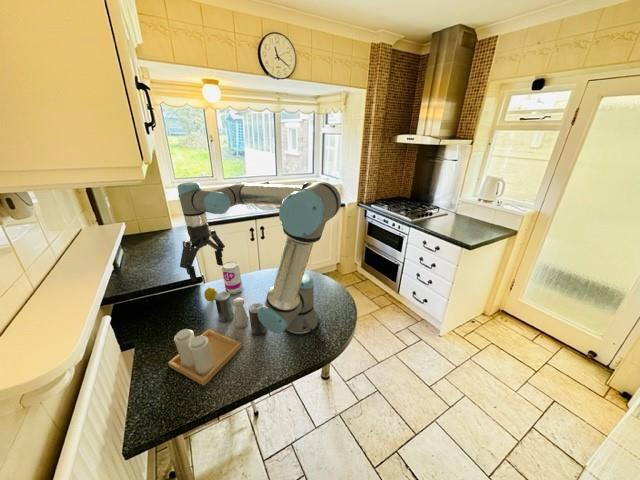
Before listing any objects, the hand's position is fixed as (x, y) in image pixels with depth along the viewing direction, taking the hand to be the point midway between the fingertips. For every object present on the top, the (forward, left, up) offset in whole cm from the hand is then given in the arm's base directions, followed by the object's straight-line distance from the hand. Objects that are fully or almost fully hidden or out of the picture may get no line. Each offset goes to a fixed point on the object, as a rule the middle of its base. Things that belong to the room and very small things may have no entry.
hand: (207, 272), depth 106 cm
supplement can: (+7, -19, -23) cm, 30 cm away
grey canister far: (-5, -1, -23) cm, 23 cm away
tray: (-14, +18, -23) cm, 32 cm away
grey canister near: (-23, -1, -23) cm, 32 cm away
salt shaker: (-14, -1, -23) cm, 27 cm away
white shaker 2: (-18, +22, -22) cm, 36 cm away
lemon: (+10, -7, -23) cm, 26 cm away
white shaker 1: (-11, +22, -22) cm, 33 cm away
